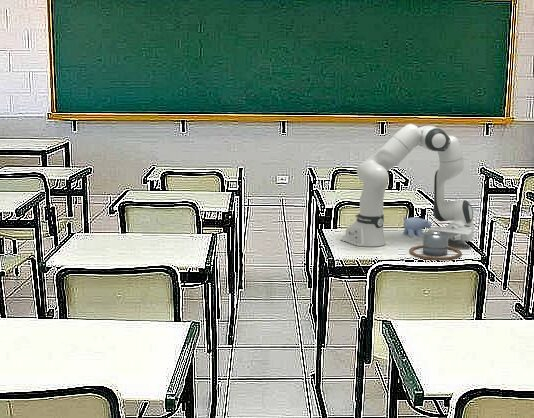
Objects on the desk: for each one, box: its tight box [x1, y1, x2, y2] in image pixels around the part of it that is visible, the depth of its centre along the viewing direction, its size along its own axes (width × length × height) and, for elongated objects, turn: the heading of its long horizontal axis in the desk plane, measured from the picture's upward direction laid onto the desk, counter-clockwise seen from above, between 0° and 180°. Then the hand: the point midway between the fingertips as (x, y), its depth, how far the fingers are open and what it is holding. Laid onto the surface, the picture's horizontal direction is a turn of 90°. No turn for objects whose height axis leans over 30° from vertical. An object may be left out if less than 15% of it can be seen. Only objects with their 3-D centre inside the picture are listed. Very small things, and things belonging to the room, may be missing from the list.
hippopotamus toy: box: [403, 216, 433, 238], centre depth 380 cm, size 11×15×10 cm
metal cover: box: [422, 231, 449, 257], centre depth 344 cm, size 11×11×10 cm
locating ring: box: [408, 244, 463, 261], centre depth 345 cm, size 23×23×1 cm
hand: (444, 237), depth 352 cm, fingers open, 8 cm apart
